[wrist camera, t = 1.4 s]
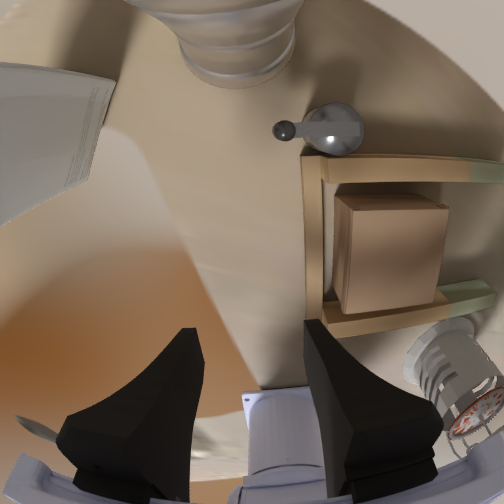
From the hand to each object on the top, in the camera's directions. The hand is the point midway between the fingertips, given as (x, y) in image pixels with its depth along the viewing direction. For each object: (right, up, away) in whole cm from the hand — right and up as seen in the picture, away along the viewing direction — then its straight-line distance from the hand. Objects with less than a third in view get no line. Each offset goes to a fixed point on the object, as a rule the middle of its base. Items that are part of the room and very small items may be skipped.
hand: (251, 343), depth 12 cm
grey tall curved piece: (+21, -8, +15) cm, 27 cm away
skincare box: (-13, +13, +6) cm, 20 cm away
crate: (+9, +5, +9) cm, 14 cm away
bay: (+13, +5, +9) cm, 17 cm away
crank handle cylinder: (+4, +12, +6) cm, 14 cm away
